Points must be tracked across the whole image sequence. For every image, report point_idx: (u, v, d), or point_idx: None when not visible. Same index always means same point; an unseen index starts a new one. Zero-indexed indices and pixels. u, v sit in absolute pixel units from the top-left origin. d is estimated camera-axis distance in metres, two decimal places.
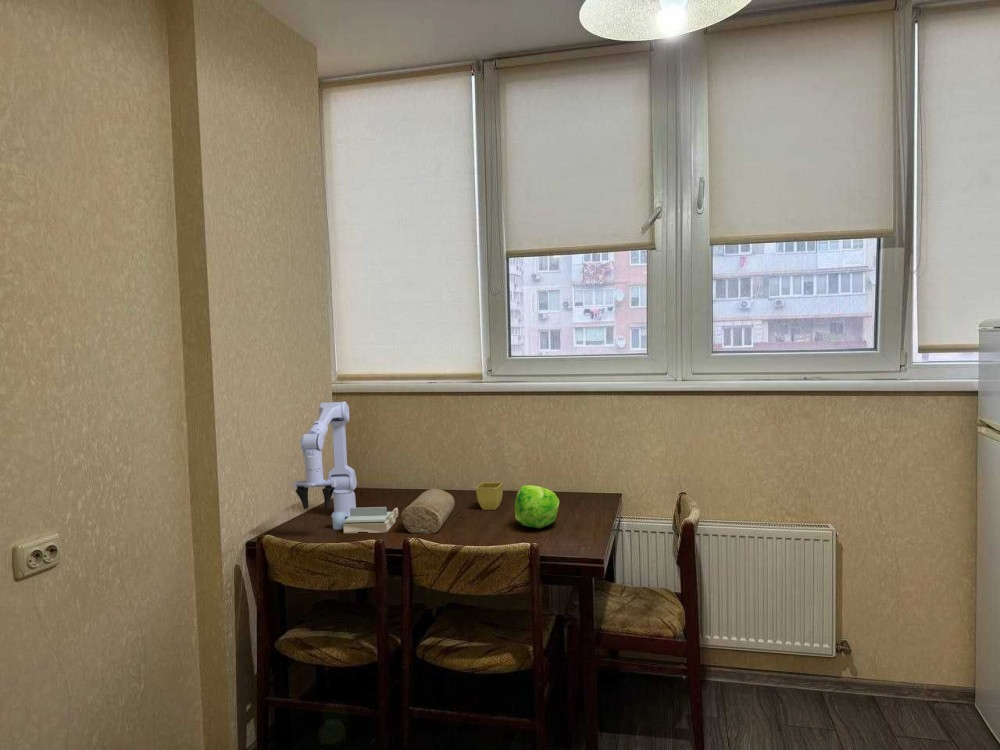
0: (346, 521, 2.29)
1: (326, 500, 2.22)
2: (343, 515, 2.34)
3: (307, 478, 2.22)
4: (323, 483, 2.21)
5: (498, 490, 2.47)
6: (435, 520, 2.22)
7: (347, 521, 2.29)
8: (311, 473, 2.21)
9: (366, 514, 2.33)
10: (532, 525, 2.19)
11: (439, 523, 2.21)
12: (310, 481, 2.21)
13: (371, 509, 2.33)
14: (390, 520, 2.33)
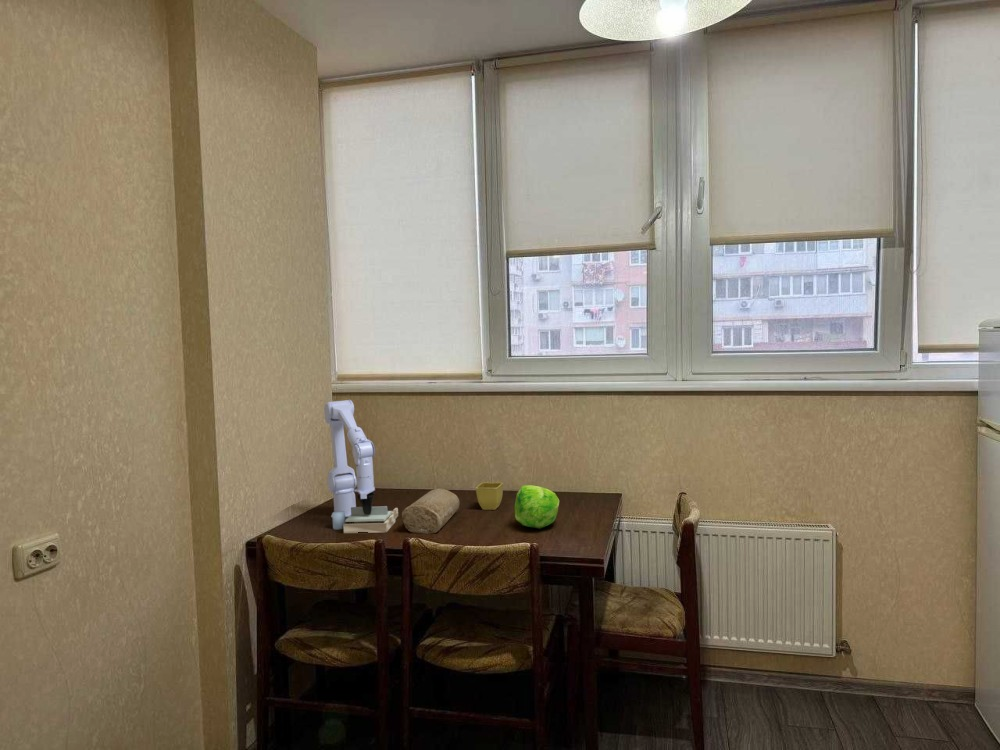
0: (347, 520, 2.30)
1: (362, 506, 2.32)
2: (343, 515, 2.34)
3: None
4: (359, 492, 2.28)
5: (498, 490, 2.47)
6: (434, 520, 2.21)
7: (348, 520, 2.30)
8: (357, 479, 2.32)
9: None
10: (532, 525, 2.19)
11: (438, 523, 2.21)
12: None
13: (372, 508, 2.34)
14: (390, 520, 2.33)
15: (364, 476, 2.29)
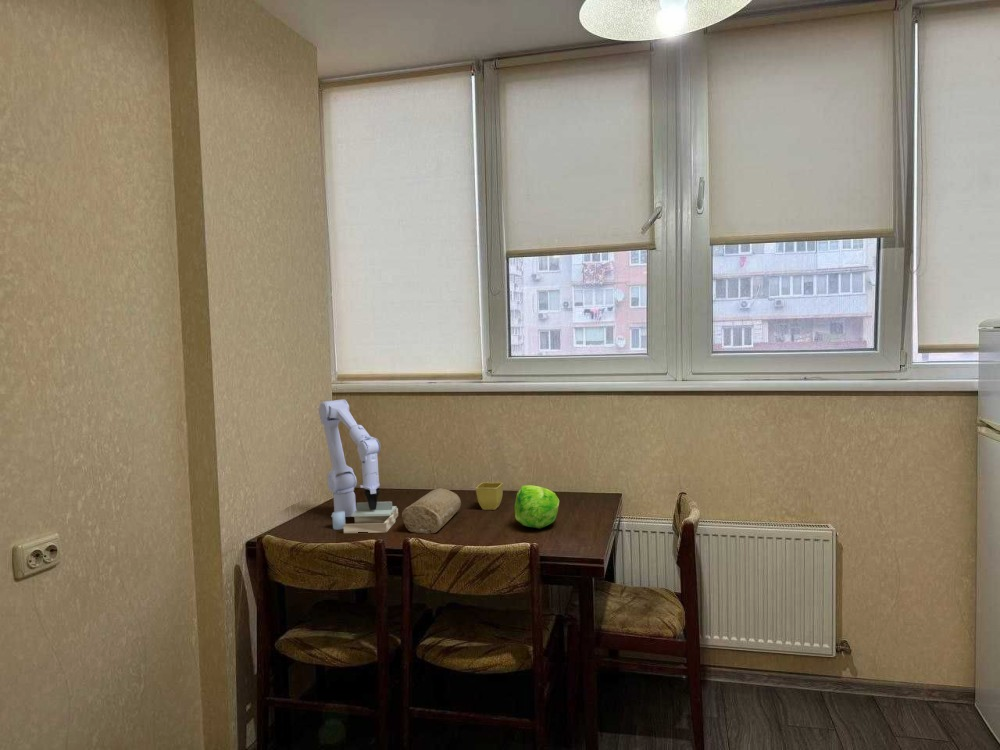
0: (353, 515, 2.37)
1: (368, 502, 2.38)
2: (343, 515, 2.34)
3: None
4: (367, 488, 2.34)
5: (498, 490, 2.47)
6: (434, 520, 2.21)
7: (354, 515, 2.37)
8: None
9: None
10: (532, 525, 2.19)
11: (438, 523, 2.21)
12: (363, 483, 2.38)
13: (377, 504, 2.41)
14: (390, 520, 2.33)
15: (371, 472, 2.36)
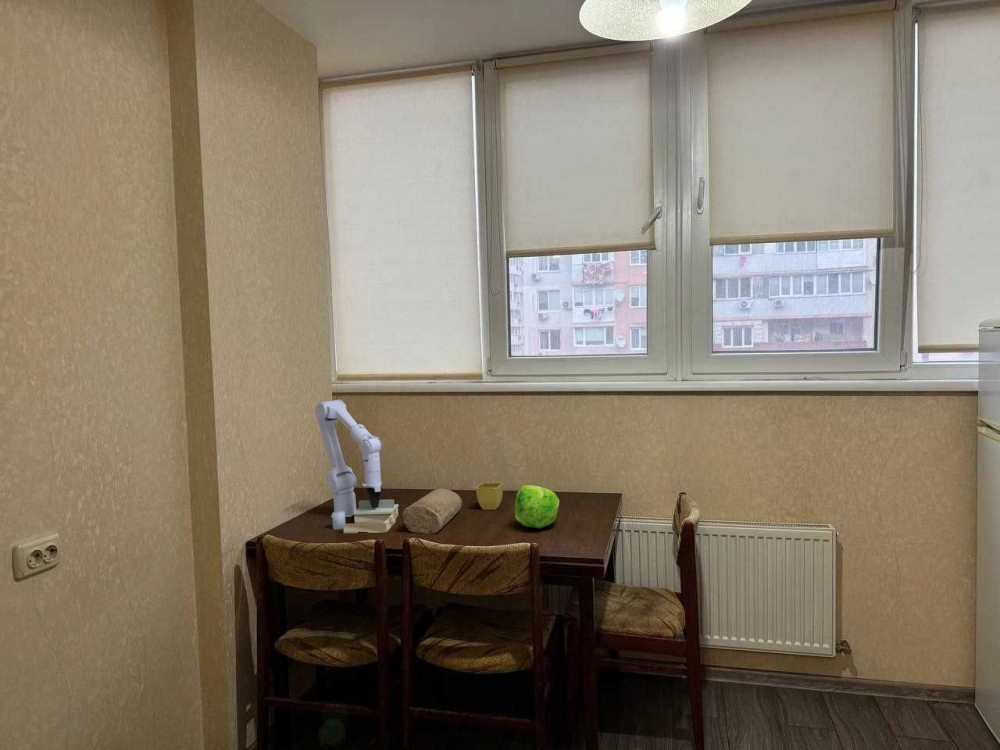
0: (355, 513, 2.39)
1: (370, 500, 2.40)
2: (343, 515, 2.34)
3: None
4: (370, 486, 2.37)
5: (498, 490, 2.47)
6: (435, 520, 2.21)
7: (356, 513, 2.39)
8: (365, 474, 2.40)
9: None
10: (532, 525, 2.19)
11: (439, 523, 2.21)
12: (365, 481, 2.40)
13: (379, 502, 2.43)
14: (390, 520, 2.33)
15: (374, 470, 2.38)
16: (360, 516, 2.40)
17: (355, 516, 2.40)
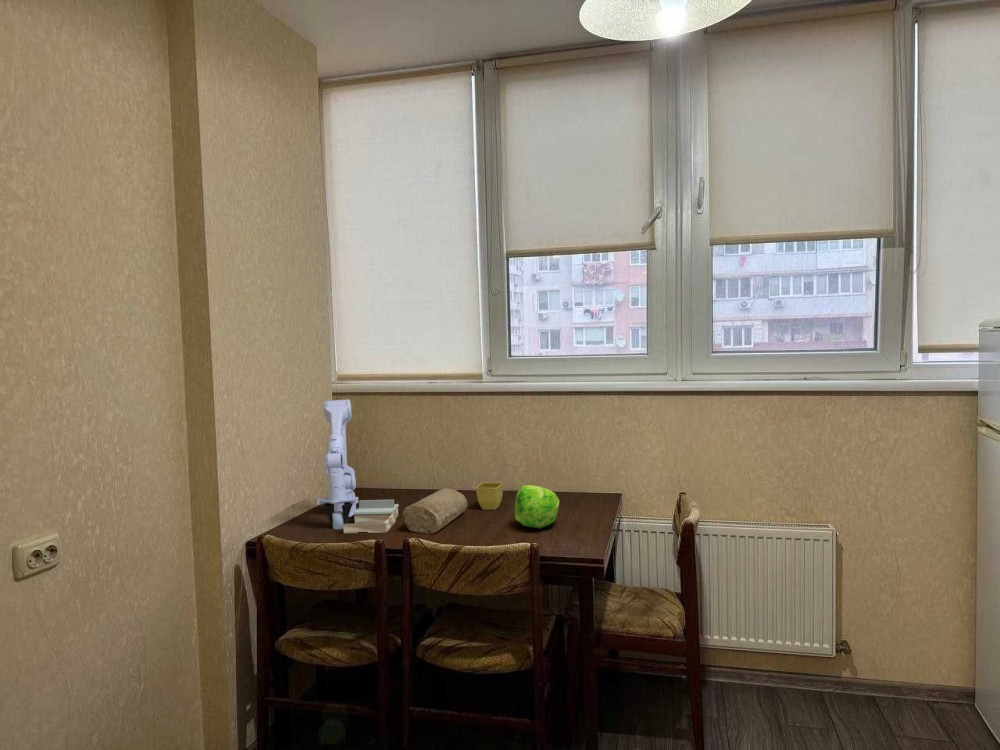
0: (355, 513, 2.40)
1: (345, 516, 2.33)
2: (343, 515, 2.34)
3: (330, 495, 2.32)
4: (346, 500, 2.33)
5: (498, 490, 2.47)
6: (433, 520, 2.21)
7: (356, 513, 2.39)
8: (334, 490, 2.32)
9: (374, 506, 2.44)
10: (532, 525, 2.19)
11: (437, 524, 2.20)
12: (334, 498, 2.32)
13: (379, 502, 2.43)
14: (390, 520, 2.33)
15: (332, 486, 2.32)
16: (360, 516, 2.40)
17: (355, 516, 2.40)
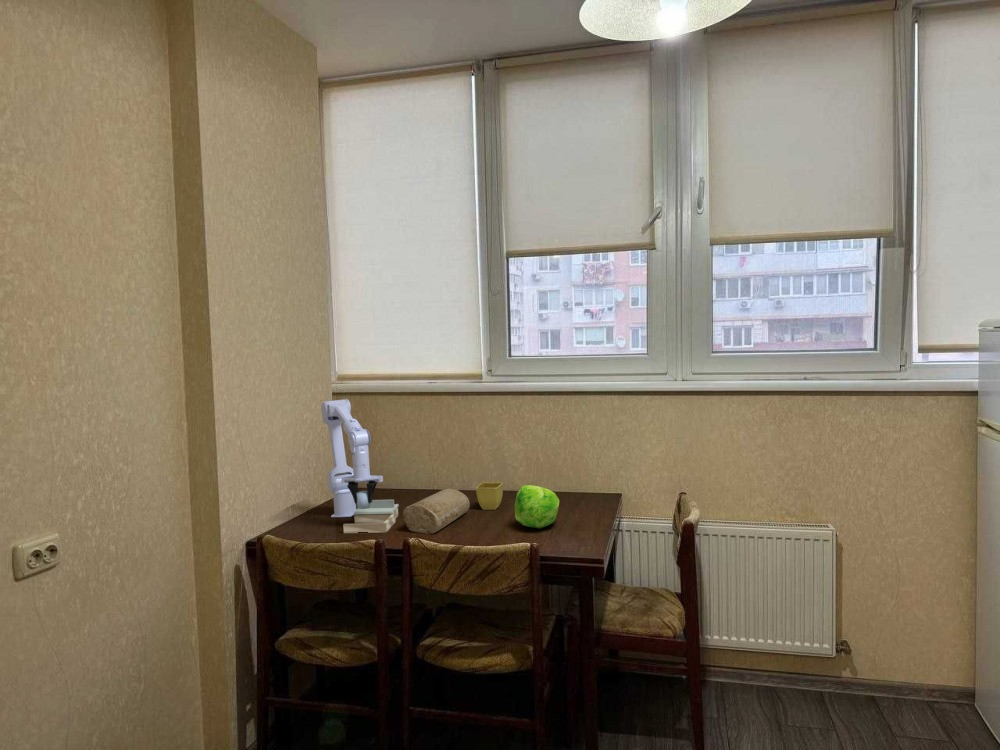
0: (355, 513, 2.40)
1: (370, 495, 2.31)
2: (367, 495, 2.32)
3: (355, 474, 2.30)
4: (371, 478, 2.31)
5: (498, 490, 2.47)
6: (433, 521, 2.21)
7: (356, 513, 2.39)
8: (359, 469, 2.30)
9: (374, 506, 2.44)
10: (532, 525, 2.19)
11: (436, 524, 2.20)
12: (358, 476, 2.30)
13: (379, 502, 2.43)
14: (390, 520, 2.33)
15: (360, 464, 2.30)
16: (360, 516, 2.40)
17: (355, 516, 2.40)
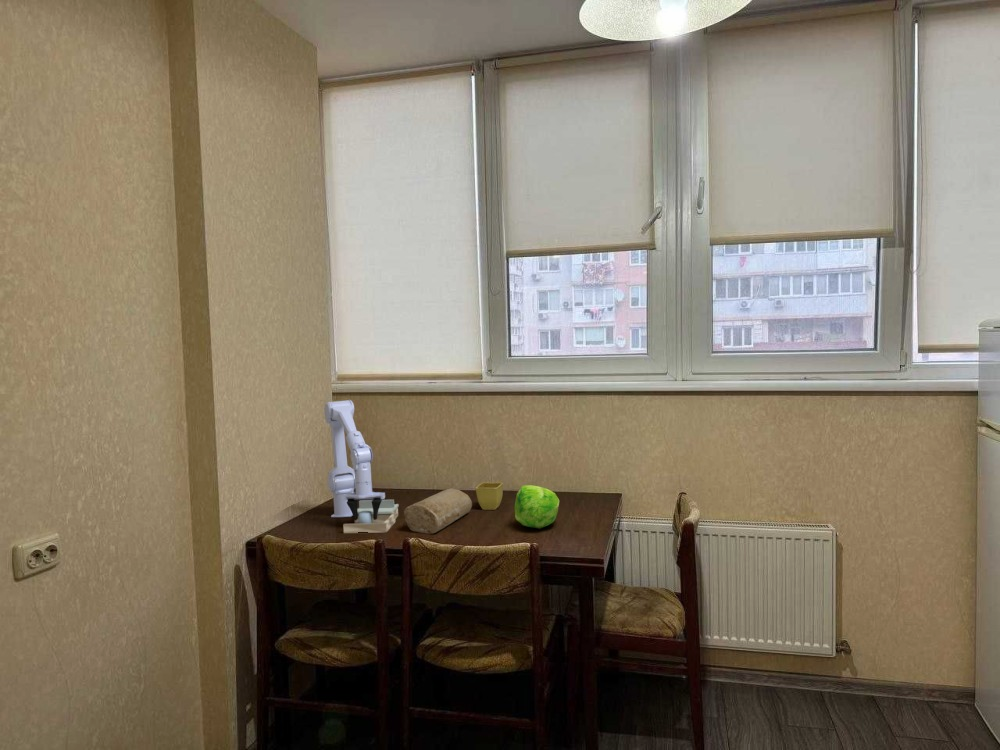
0: None
1: (375, 511, 2.32)
2: (370, 515, 2.33)
3: (357, 491, 2.31)
4: (373, 495, 2.31)
5: (498, 490, 2.47)
6: (433, 521, 2.21)
7: None
8: (361, 486, 2.30)
9: None
10: (532, 525, 2.19)
11: (436, 524, 2.20)
12: (361, 493, 2.30)
13: None
14: (390, 520, 2.33)
15: (362, 481, 2.30)
16: None
17: None
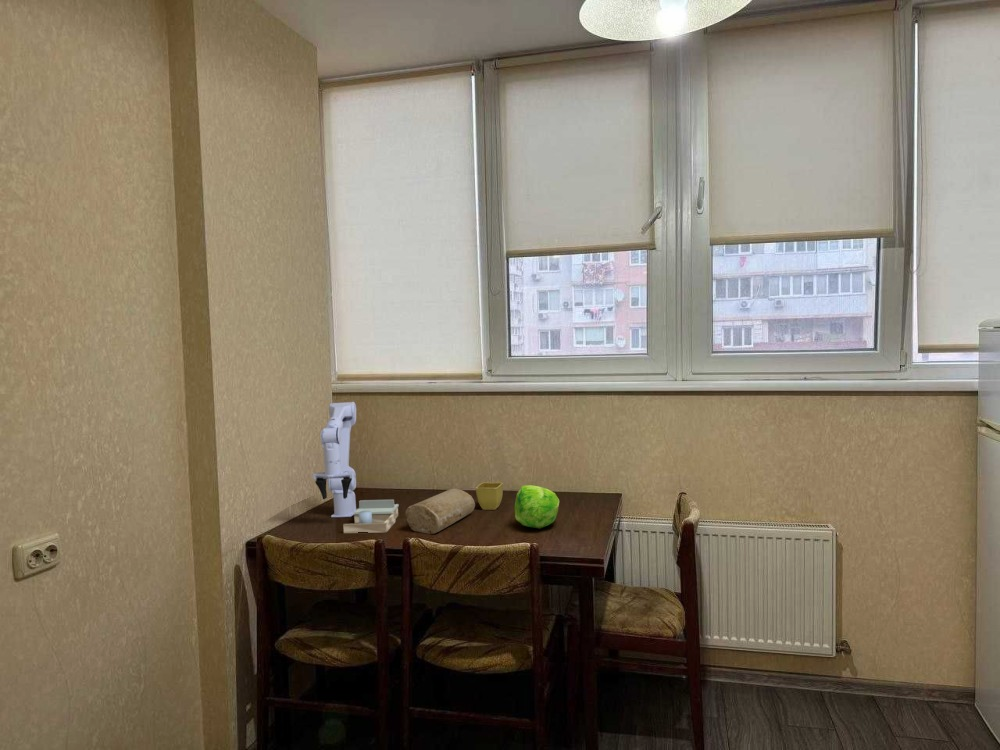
0: (355, 513, 2.40)
1: (344, 490, 2.36)
2: (370, 515, 2.33)
3: (326, 470, 2.35)
4: (342, 474, 2.35)
5: (498, 490, 2.47)
6: (434, 521, 2.21)
7: (356, 513, 2.39)
8: (330, 465, 2.34)
9: (374, 506, 2.44)
10: (532, 525, 2.19)
11: (437, 524, 2.20)
12: (330, 473, 2.35)
13: (379, 502, 2.43)
14: (390, 520, 2.33)
15: (327, 461, 2.35)
16: None
17: (355, 516, 2.40)
